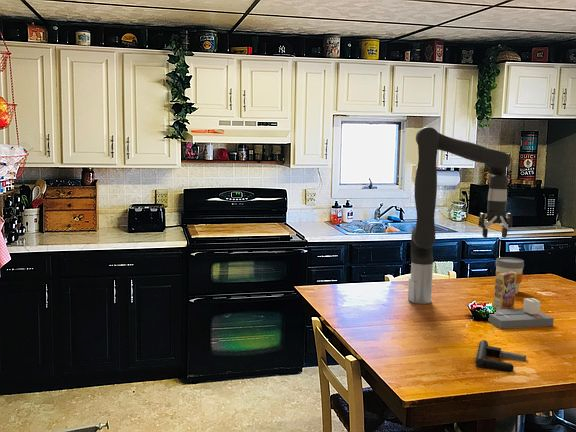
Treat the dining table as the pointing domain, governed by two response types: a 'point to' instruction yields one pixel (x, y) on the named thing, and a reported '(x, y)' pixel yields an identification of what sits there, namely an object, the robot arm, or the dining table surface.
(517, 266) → the reusable coffee cup
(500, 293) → the candy box
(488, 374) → the dining table surface
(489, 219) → the robot arm
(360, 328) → the dining table surface
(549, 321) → the console board
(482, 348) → the door handle
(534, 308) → the slider knob
